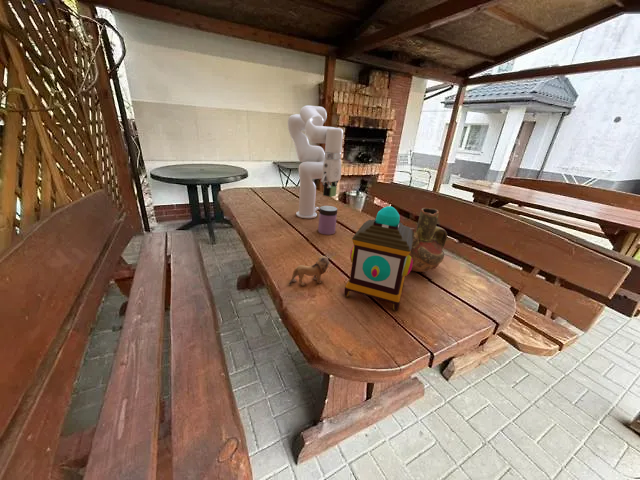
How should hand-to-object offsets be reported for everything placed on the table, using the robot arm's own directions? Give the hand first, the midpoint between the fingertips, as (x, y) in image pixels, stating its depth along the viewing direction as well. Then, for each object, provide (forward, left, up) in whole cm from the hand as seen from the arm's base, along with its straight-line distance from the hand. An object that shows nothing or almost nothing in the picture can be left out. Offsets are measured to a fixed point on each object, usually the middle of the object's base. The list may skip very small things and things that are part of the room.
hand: (329, 194), depth 129 cm
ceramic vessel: (+7, +49, -20) cm, 53 cm away
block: (0, 0, -1) cm, 1 cm away
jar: (0, 0, -20) cm, 20 cm away
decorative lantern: (+32, +44, -20) cm, 58 cm away
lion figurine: (+43, +24, -20) cm, 53 cm away
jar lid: (0, 0, -8) cm, 8 cm away
